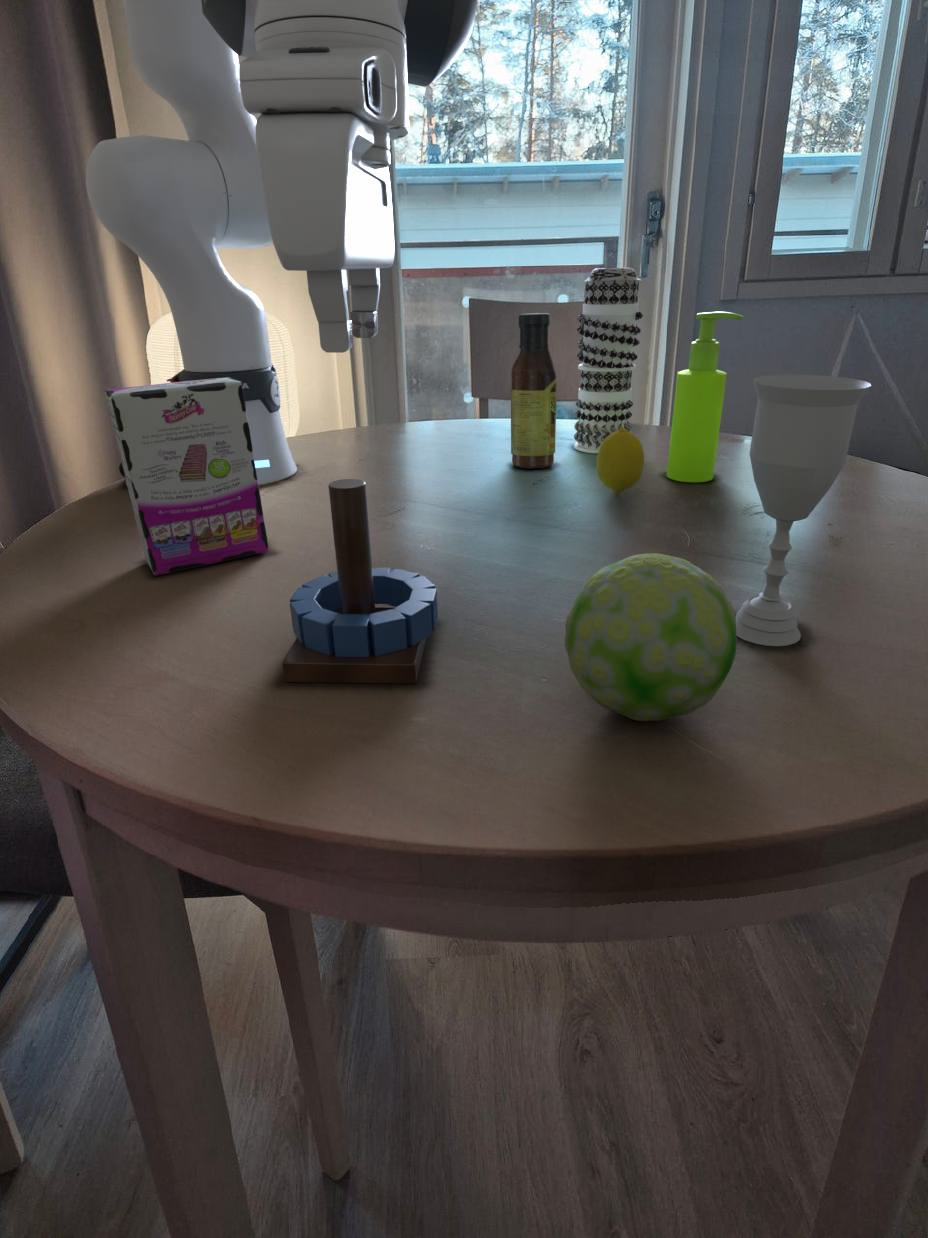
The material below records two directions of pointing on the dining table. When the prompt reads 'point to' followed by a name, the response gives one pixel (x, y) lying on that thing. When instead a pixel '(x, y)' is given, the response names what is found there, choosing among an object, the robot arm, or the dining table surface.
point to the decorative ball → (651, 637)
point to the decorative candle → (606, 355)
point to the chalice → (794, 477)
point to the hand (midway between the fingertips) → (352, 343)
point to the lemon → (620, 460)
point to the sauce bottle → (533, 396)
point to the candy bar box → (189, 471)
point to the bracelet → (365, 615)
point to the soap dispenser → (698, 407)
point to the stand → (352, 602)
